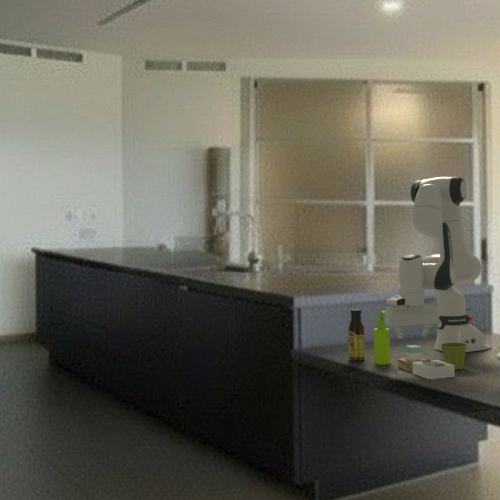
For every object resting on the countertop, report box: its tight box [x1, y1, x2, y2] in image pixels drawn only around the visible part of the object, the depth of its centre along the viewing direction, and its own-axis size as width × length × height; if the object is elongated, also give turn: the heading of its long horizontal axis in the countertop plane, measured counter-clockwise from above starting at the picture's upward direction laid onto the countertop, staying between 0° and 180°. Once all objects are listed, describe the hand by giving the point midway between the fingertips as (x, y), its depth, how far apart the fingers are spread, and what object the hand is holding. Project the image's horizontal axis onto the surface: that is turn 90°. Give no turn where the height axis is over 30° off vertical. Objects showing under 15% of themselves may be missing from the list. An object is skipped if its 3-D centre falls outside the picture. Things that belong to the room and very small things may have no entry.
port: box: [412, 359, 456, 380], centre depth 261 cm, size 10×11×4 cm
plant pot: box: [440, 343, 467, 371], centre depth 271 cm, size 9×9×9 cm
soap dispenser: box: [373, 310, 391, 366], centre depth 285 cm, size 6×7×20 cm
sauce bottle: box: [347, 308, 366, 362], centre depth 294 cm, size 6×6×20 cm
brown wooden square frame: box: [397, 357, 427, 372], centre depth 274 cm, size 9×10×3 cm
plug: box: [404, 344, 423, 362], centre depth 274 cm, size 4×5×8 cm
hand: (412, 337), depth 274 cm, fingers open, 8 cm apart
